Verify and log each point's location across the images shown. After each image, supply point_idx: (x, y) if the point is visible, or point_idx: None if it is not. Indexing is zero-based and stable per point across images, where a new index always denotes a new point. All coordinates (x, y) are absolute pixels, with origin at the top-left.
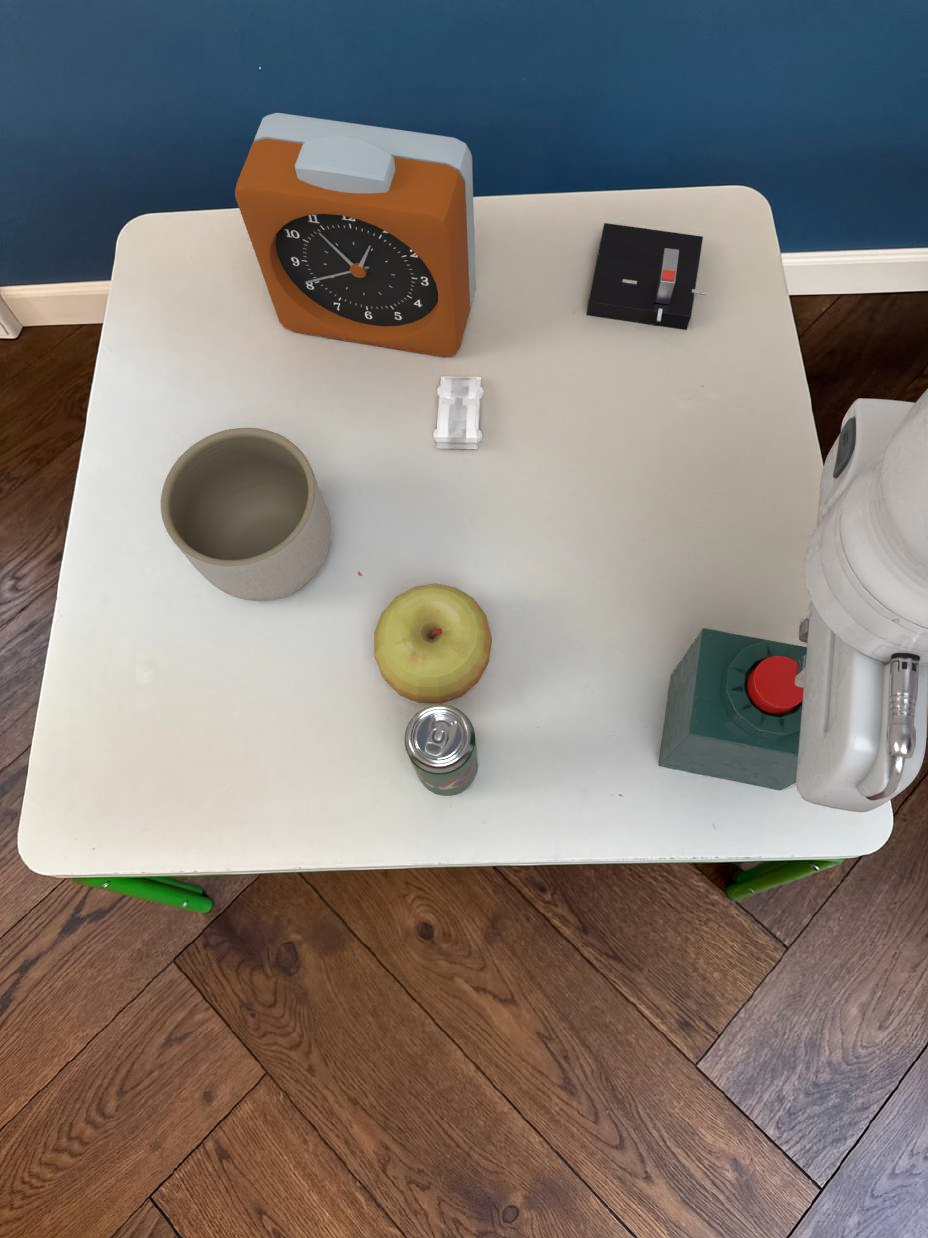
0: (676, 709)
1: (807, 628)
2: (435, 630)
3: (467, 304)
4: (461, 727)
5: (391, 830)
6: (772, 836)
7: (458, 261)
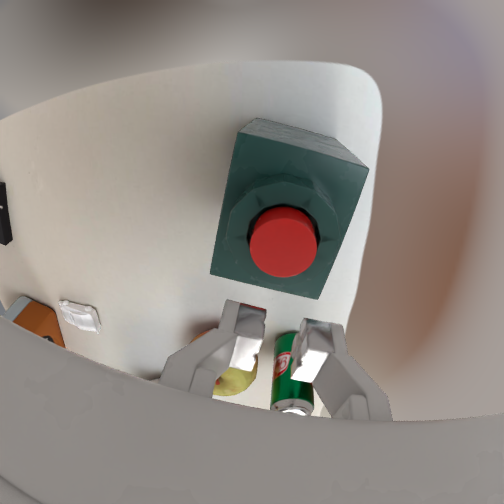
0: None
1: (245, 369)
2: None
3: (28, 310)
4: (287, 408)
5: None
6: (370, 154)
7: None
